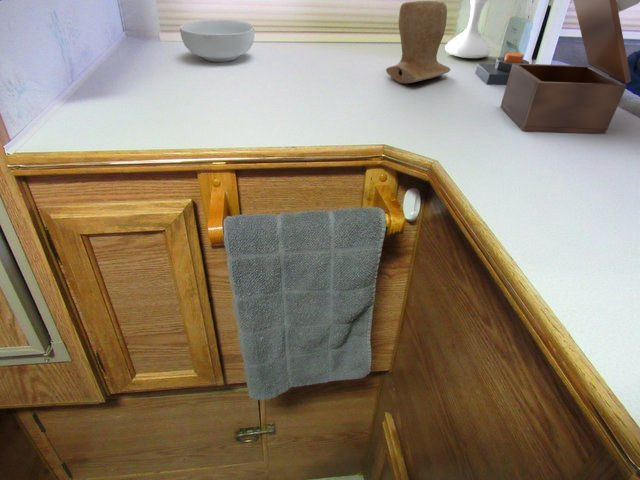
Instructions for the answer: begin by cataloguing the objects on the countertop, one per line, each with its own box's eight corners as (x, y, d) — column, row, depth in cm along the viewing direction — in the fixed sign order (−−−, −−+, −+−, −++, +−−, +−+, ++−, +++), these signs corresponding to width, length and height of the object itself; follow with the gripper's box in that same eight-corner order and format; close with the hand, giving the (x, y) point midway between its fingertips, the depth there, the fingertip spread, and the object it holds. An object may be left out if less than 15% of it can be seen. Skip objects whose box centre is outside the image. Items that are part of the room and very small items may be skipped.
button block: (526, 75, 98) (532, 56, 95) (542, 86, 90) (549, 67, 88) (475, 73, 97) (479, 54, 95) (486, 84, 90) (491, 65, 88)
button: (517, 60, 93) (520, 52, 92) (523, 65, 90) (526, 56, 89) (501, 60, 93) (503, 51, 92) (507, 64, 90) (509, 55, 89)
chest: (523, 131, 69) (539, 82, 65) (500, 107, 79) (512, 63, 74) (605, 134, 70) (627, 85, 65) (572, 109, 79) (589, 65, 74)
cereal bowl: (169, 61, 98) (163, 27, 94) (210, 47, 111) (207, 17, 107) (232, 70, 93) (228, 35, 89) (268, 55, 106) (266, 23, 102)
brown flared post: (412, 66, 101) (423, -6, 92) (455, 77, 94) (472, 0, 85) (370, 77, 93) (378, -2, 84) (414, 90, 86) (428, 6, 77)
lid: (607, -8, 58) (614, -12, 57) (569, -17, 67) (574, -20, 67) (625, 84, 65) (631, 81, 64) (588, 64, 74) (593, 61, 74)
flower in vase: (497, 61, 107) (529, -60, 92) (456, 62, 105) (482, -61, 90) (471, 49, 117) (496, -61, 103) (433, 50, 115) (453, -63, 100)
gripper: (647, -82, 66) (561, -12, 71) (754, -86, 49) (631, 6, 55) (661, -46, 68) (577, 19, 74) (767, -39, 52) (648, 44, 57)
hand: (600, 13), depth 64 cm, fingers closed, pressing on lid
